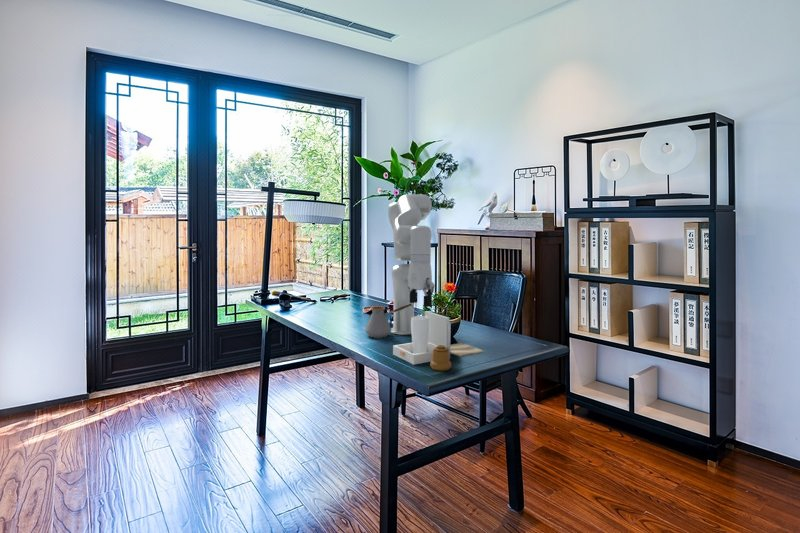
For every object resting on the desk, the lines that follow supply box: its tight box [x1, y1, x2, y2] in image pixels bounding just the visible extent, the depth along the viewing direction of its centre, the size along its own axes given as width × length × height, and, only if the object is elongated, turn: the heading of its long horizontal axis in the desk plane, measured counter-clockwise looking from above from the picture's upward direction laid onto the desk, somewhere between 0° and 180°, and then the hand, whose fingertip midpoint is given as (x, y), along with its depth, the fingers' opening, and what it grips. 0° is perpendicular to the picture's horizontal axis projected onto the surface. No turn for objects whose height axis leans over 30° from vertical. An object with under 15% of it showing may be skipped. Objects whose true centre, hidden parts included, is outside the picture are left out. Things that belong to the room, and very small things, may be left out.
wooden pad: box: [450, 342, 485, 358], centre depth 190 cm, size 14×12×1 cm
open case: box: [392, 310, 452, 366], centre depth 180 cm, size 16×16×16 cm
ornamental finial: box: [429, 345, 452, 372], centre depth 167 cm, size 8×8×8 cm
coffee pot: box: [364, 304, 413, 339], centre depth 211 cm, size 21×12×15 cm, turn 85°
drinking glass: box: [410, 315, 429, 354], centre depth 180 cm, size 7×7×15 cm
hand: (420, 304), depth 179 cm, fingers open, 9 cm apart
